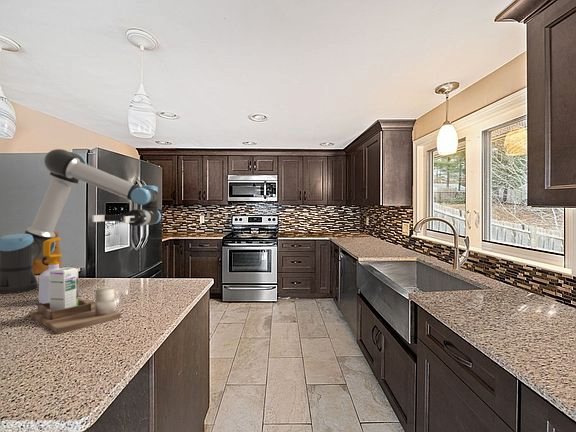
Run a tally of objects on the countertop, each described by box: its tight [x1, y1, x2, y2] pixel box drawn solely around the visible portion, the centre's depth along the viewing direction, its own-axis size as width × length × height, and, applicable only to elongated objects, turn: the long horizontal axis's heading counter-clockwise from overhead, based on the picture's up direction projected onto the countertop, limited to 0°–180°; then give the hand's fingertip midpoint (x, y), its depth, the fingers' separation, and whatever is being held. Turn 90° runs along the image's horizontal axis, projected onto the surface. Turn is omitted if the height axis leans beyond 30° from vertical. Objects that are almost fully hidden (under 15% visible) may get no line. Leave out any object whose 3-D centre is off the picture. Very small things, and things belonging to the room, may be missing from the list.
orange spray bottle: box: [33, 231, 62, 275], centre depth 171 cm, size 10×12×22 cm
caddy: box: [28, 286, 122, 335], centre depth 108 cm, size 25×18×10 cm
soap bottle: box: [38, 236, 63, 304], centre depth 124 cm, size 9×9×25 cm
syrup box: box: [50, 267, 79, 311], centre depth 108 cm, size 6×6×14 cm
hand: (108, 219), depth 129 cm, fingers open, 13 cm apart
